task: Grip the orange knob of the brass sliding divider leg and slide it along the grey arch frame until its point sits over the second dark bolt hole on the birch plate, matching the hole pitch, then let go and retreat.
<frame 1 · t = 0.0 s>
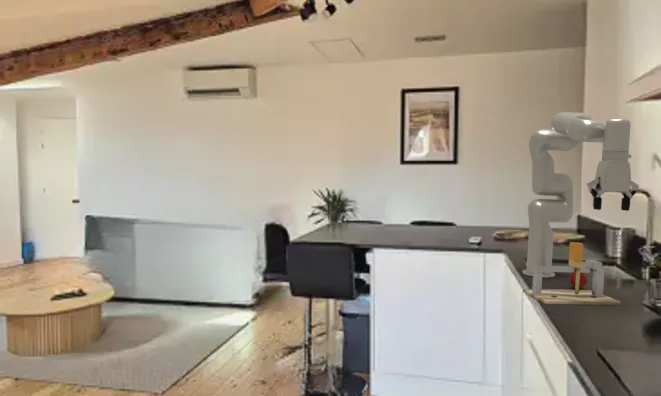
hand: (611, 209, 172), 31 cm above the worktop, fingers open, 9 cm apart
grey arch frame: (567, 298, 180), resting on bolt plate
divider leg: (576, 268, 178), point 11 cm above the worktop, slide at 0.0 cm
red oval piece: (577, 289, 195), on the worktop
bolt plate: (569, 298, 180), on the worktop
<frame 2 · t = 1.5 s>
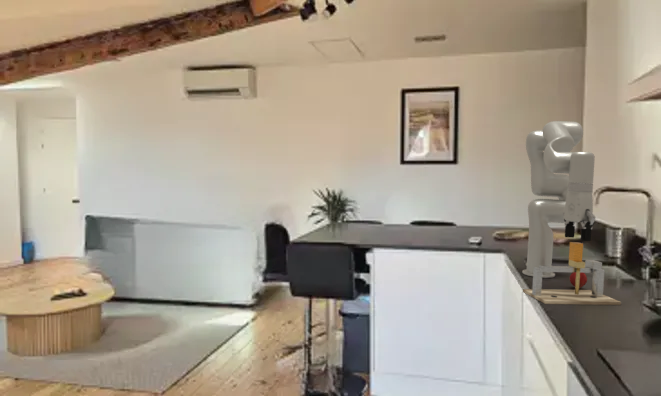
hand: (577, 239, 178), 20 cm above the worktop, fingers open, 9 cm apart
nothing on the worktop moved.
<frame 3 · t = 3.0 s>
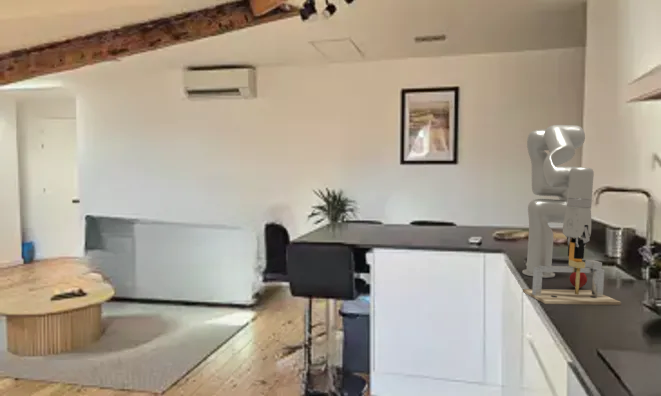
hand: (575, 257, 179), 14 cm above the worktop, fingers closed on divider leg, 3 cm apart
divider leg: (576, 268, 178), point 11 cm above the worktop, slide at 0.0 cm, touching gripper
everything else where it was.
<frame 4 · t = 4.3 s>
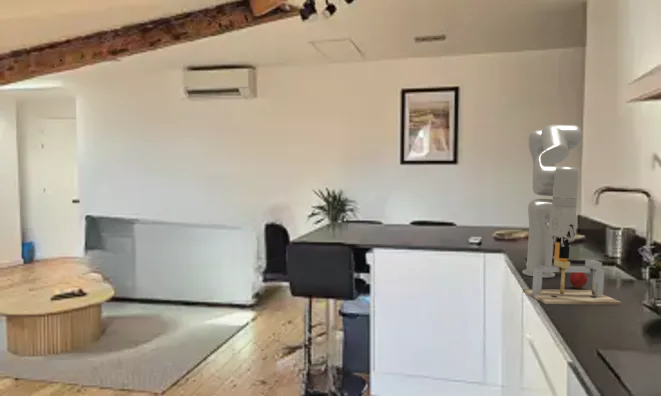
hand: (560, 256, 179), 14 cm above the worktop, fingers closed on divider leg, 3 cm apart
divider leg: (561, 268, 178), point 11 cm above the worktop, slide at 5.3 cm, touching gripper
everything else where it was.
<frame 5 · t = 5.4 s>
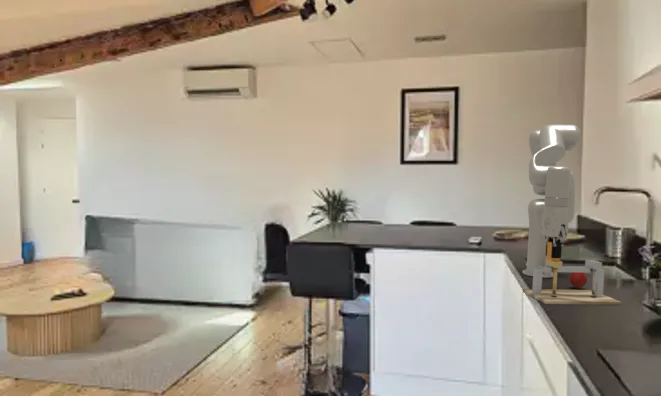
hand: (553, 256, 178), 14 cm above the worktop, fingers closed on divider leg, 3 cm apart
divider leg: (553, 267, 178), point 11 cm above the worktop, slide at 8.0 cm, touching gripper
everything else where it was.
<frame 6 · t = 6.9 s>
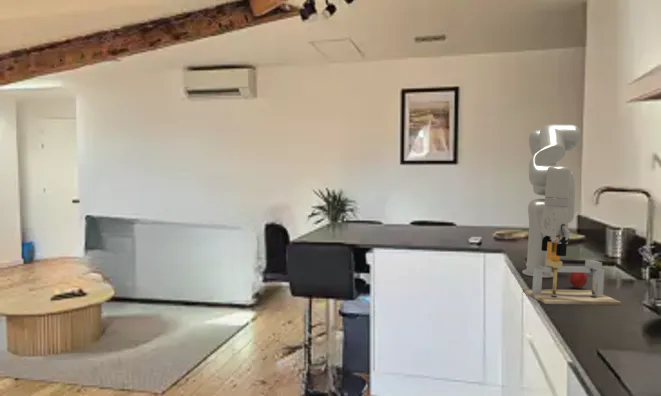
hand: (553, 253, 178), 15 cm above the worktop, fingers open, 9 cm apart
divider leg: (553, 267, 178), point 11 cm above the worktop, slide at 8.0 cm
everything else where it was.
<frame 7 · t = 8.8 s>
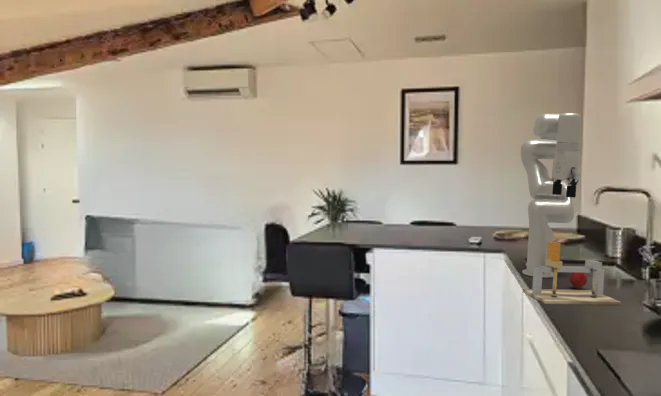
hand: (563, 195, 189), 34 cm above the worktop, fingers open, 9 cm apart
nothing on the worktop moved.
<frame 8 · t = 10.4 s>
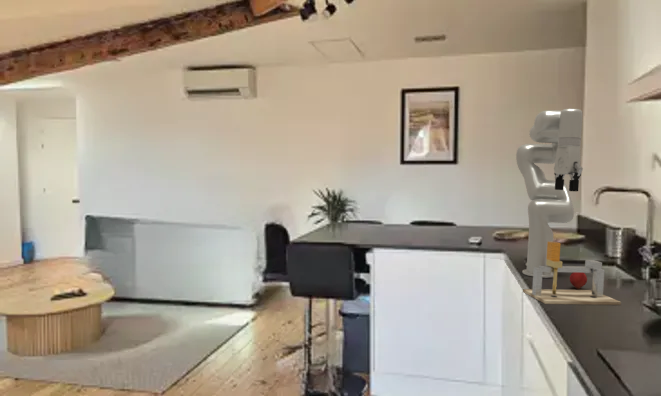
hand: (566, 190, 192), 36 cm above the worktop, fingers open, 9 cm apart
nothing on the worktop moved.
at the end: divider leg slide at 8.0 cm; the gripper is holding nothing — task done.
